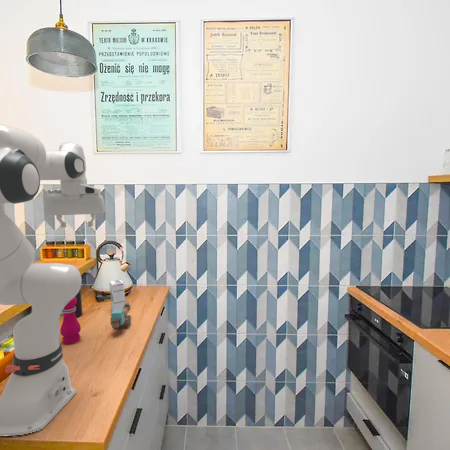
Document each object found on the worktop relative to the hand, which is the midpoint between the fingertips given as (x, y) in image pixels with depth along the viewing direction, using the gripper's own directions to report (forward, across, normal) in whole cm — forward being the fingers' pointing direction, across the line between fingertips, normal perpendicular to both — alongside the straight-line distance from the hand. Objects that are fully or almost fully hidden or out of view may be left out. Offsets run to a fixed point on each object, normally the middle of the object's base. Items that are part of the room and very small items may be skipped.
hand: (77, 226), depth 118 cm
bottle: (+46, -11, +29) cm, 55 cm away
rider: (+41, +12, +6) cm, 43 cm away
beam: (+46, +12, +11) cm, 49 cm away
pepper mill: (+46, -6, +3) cm, 46 cm away
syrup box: (+46, +8, +31) cm, 56 cm away
